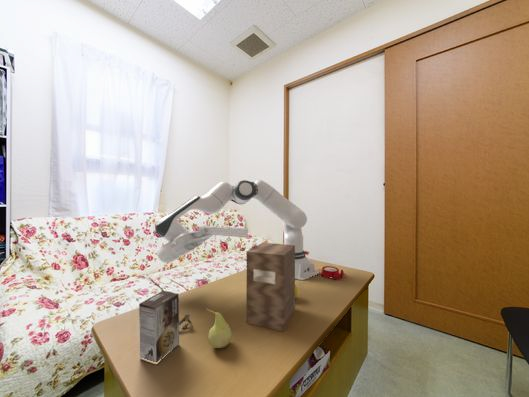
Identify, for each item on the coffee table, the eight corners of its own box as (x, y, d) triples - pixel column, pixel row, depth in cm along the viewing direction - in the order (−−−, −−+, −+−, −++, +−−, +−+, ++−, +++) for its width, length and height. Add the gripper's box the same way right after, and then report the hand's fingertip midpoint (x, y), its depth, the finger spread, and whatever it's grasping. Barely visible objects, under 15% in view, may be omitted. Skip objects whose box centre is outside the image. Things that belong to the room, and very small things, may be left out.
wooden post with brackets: (195, 323, 78) (189, 313, 76) (173, 340, 73) (167, 330, 72) (193, 321, 79) (188, 311, 78) (172, 338, 75) (166, 328, 73)
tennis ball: (300, 300, 96) (300, 284, 96) (286, 303, 93) (286, 287, 93) (292, 294, 103) (292, 279, 102) (279, 296, 100) (279, 281, 100)
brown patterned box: (245, 323, 79) (245, 251, 78) (262, 302, 94) (262, 242, 94) (283, 332, 74) (283, 255, 73) (294, 308, 89) (294, 245, 89)
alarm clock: (325, 264, 135) (348, 264, 124) (327, 275, 134) (350, 276, 123) (315, 268, 128) (339, 269, 117) (317, 279, 127) (341, 281, 116)
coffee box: (163, 340, 70) (163, 289, 70) (180, 344, 68) (179, 292, 68) (138, 360, 61) (138, 303, 61) (156, 366, 59) (156, 307, 59)
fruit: (232, 352, 64) (232, 311, 64) (206, 356, 63) (206, 314, 63) (231, 337, 71) (230, 301, 71) (207, 341, 69) (207, 303, 69)
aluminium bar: (198, 233, 94) (198, 226, 94) (203, 232, 97) (203, 225, 97) (244, 237, 86) (244, 229, 86) (248, 236, 89) (248, 228, 89)
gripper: (165, 240, 90) (188, 225, 85) (197, 232, 109) (218, 220, 104) (171, 255, 89) (195, 240, 84) (202, 244, 108) (223, 232, 103)
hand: (208, 229), depth 94 cm, fingers closed on aluminium bar, 3 cm apart
